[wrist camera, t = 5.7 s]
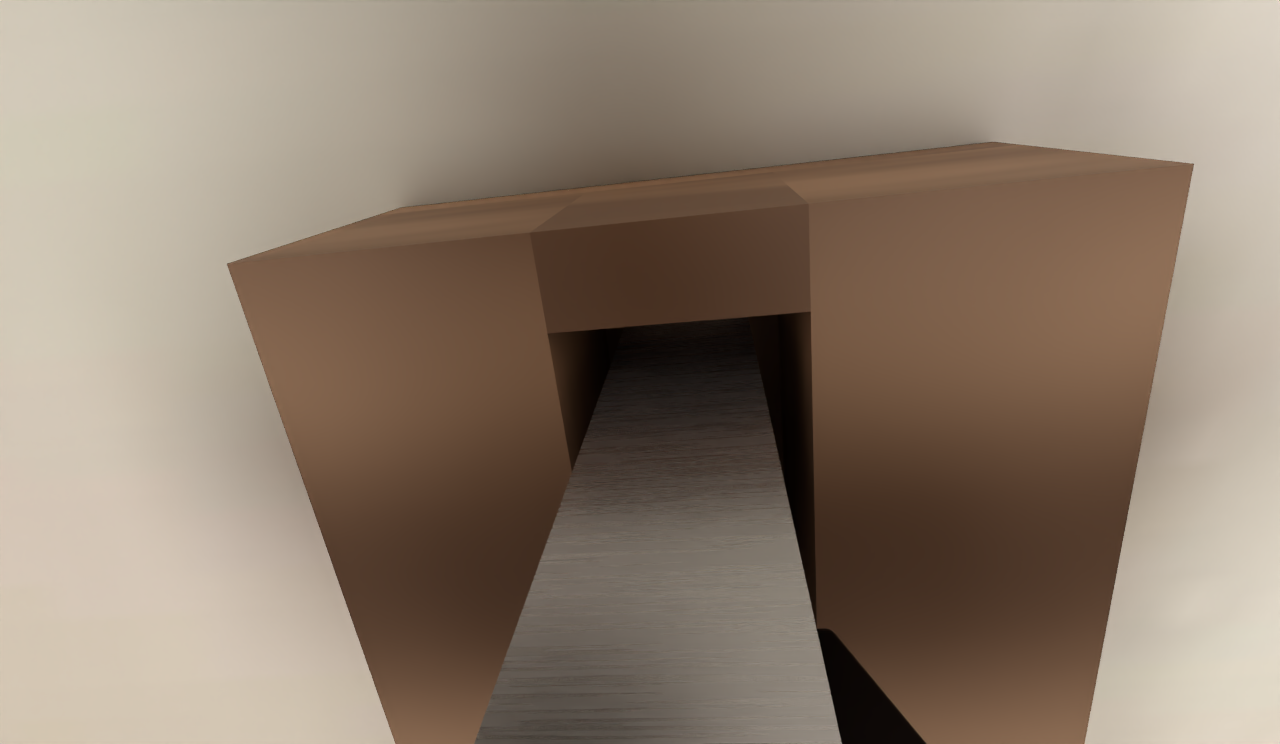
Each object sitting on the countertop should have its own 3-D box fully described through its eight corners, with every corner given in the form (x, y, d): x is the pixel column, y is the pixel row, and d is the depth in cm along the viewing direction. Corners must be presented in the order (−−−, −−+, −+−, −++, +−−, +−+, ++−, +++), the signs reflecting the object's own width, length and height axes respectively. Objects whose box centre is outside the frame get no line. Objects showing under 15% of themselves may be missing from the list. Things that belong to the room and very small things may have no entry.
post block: (956, 598, 15) (1070, 816, 10) (498, 611, 16) (418, 808, 12) (993, 141, 11) (1195, 163, 7) (399, 208, 13) (227, 263, 8)
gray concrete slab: (760, 561, 14) (876, 1451, 5) (668, 565, 14) (604, 1415, 5) (741, 290, 12) (887, 957, 3) (633, 301, 12) (404, 939, 3)
